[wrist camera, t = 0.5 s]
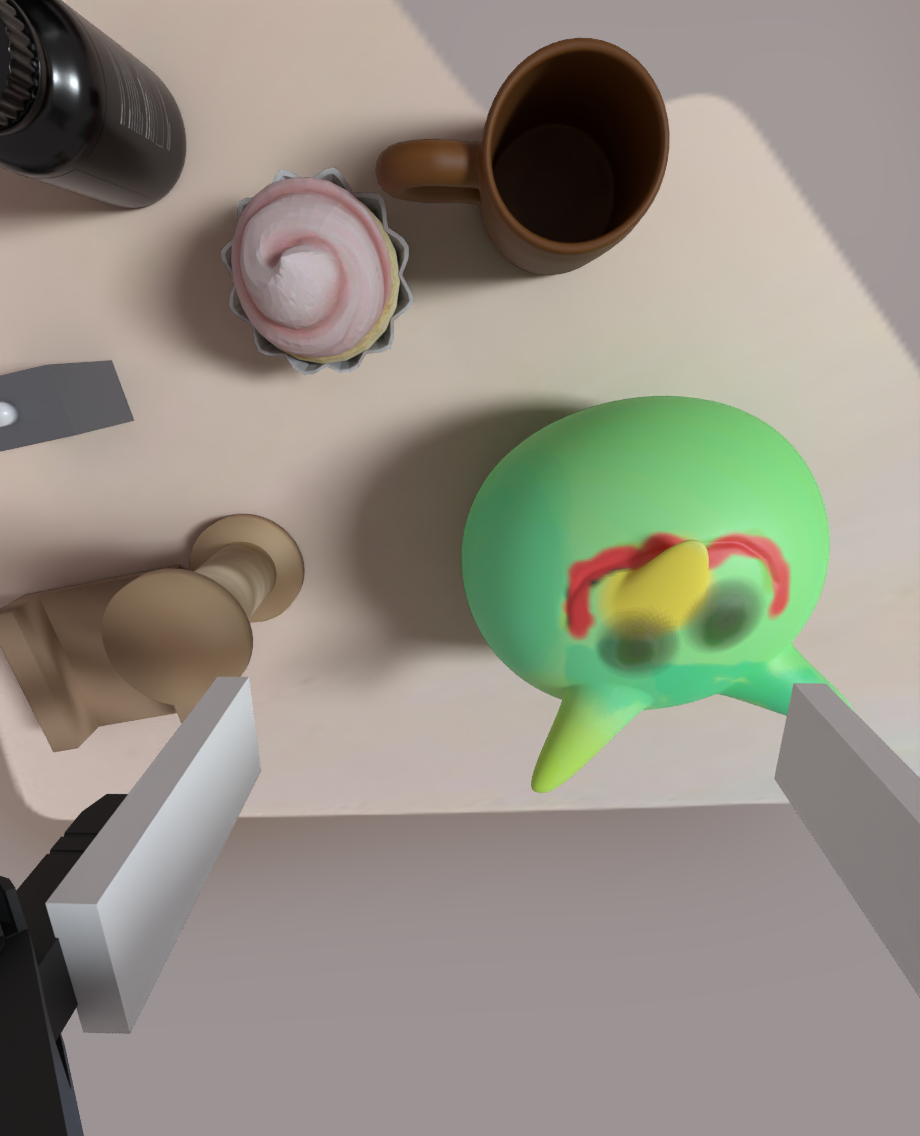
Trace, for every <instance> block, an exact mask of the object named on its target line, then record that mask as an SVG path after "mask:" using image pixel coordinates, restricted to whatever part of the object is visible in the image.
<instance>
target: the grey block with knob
mask: <svg viewBox="0 0 920 1136" xmlns="http://www.w3.org/2000/svg"><path fill="white" fill-rule="evenodd" d="M130 421H134V419H133V416H132V413H131V411H130V408H129V405H128V403H127V400H126V397H125V395H124V392H123V389H122V387H121V384H120V381H119V378H118V376H117V373H116V370H115V368H114V365H113V362H112V360H111V361H96V362H82V363H67V364H53V365H44V366H40V367H36V368H31V369H27V370H23V371H18V372H14V373H10V374H5V375H1V376H0V451H5V450H10V449H14V448H19V447H23V446H28V445H32V444H37V443H41V442H46V441H51V440H55V439H60V438H64V437H69V436H73V435H78V434H82V433H86V432H90V431H94V430H98V429H102V428H106V427H110V426H114V425H118V424H122V423H126V422H130Z"/></svg>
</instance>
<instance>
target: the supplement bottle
mask: <svg viewBox="0 0 920 1136" xmlns="http://www.w3.org/2000/svg"><path fill="white" fill-rule="evenodd" d="M185 156H186V134H185V128H184V123H183V119H182V116H181V113H180V111H179V108H178V106H177V104H176V102H175V100H174V98H173V96H172V94H171V93H170V91H169V90H168V88H167V87H166V85H165V84H164V83H163V82H162V81H161V79H160V78H159V77H158V76H157V75H156V74H155V73H154V72H153V71H152V70H150V69H149V68H148V67H147V66H146V65H144V64H143V63H142V62H141V61H139V60H138V59H137V58H136V57H134V56H133V55H132V54H131V53H129V52H128V51H127V50H125V49H124V48H123V47H121V46H120V45H119V44H117V43H116V42H115V41H114V40H112V39H111V38H110V37H108V36H107V35H106V34H104V33H103V32H102V31H101V30H99V29H98V28H97V27H95V26H94V25H93V24H91V23H90V22H89V21H88V20H86V19H85V18H84V17H82V16H81V15H80V14H78V13H77V12H76V11H74V10H73V9H72V8H71V7H69V6H68V5H67V4H65V3H64V2H63V1H61V0H0V167H2V168H5V169H7V170H9V171H12V172H14V173H16V174H19V175H22V176H25V177H28V178H31V179H34V180H37V181H40V182H43V183H46V184H50V185H53V186H56V187H59V188H62V189H65V190H68V191H71V192H74V193H77V194H80V195H83V196H86V197H89V198H92V199H95V200H98V201H101V202H105V203H108V204H112V205H115V206H120V207H126V208H138V207H144V206H148V205H150V204H153V203H155V202H157V201H159V200H160V199H162V198H163V197H165V196H166V195H167V194H168V193H169V192H170V191H171V189H172V188H173V187H174V186H175V184H176V183H177V181H178V179H179V177H180V175H181V172H182V169H183V166H184V162H185Z"/></svg>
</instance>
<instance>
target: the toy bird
mask: <svg viewBox="0 0 920 1136" xmlns="http://www.w3.org/2000/svg"><path fill="white" fill-rule="evenodd" d="M829 551H830V537H829V526H828V519H827V514H826V509H825V505H824V502H823V499H822V496H821V493H820V490H819V488H818V485H817V483H816V481H815V479H814V477H813V475H812V473H811V471H810V469H809V468H808V466H807V464H806V463H805V461H804V460H803V458H802V457H801V456H800V454H799V453H798V452H797V451H796V449H795V448H794V447H793V446H792V445H791V444H790V443H789V442H788V441H787V440H786V439H785V438H784V437H783V436H782V435H781V434H780V433H779V432H778V431H776V430H775V429H774V428H772V427H771V426H770V425H768V424H767V423H765V422H764V421H762V420H760V419H759V418H757V417H755V416H753V415H751V414H749V413H747V412H745V411H742V410H740V409H737V408H735V407H732V406H729V405H725V404H722V403H718V402H714V401H709V400H704V399H698V398H690V397H679V396H650V397H638V398H630V399H623V400H618V401H613V402H608V403H604V404H600V405H597V406H593V407H590V408H587V409H584V410H581V411H578V412H576V413H573V414H571V415H568V416H566V417H564V418H561V419H559V420H557V421H555V422H553V423H551V424H549V425H547V426H546V427H544V428H542V429H540V430H539V431H537V432H535V433H534V434H532V435H531V436H529V437H528V438H527V439H525V440H524V441H522V442H521V443H520V444H519V445H517V446H516V447H515V448H514V449H512V450H511V451H510V452H509V453H508V454H507V455H506V456H505V457H504V458H503V459H502V460H501V461H500V462H499V463H498V464H497V465H496V466H495V468H494V469H493V470H492V471H491V473H490V474H489V475H488V477H487V478H486V479H485V481H484V483H483V484H482V486H481V487H480V489H479V491H478V493H477V495H476V497H475V499H474V501H473V504H472V506H471V509H470V511H469V514H468V518H467V521H466V525H465V530H464V535H463V542H462V575H463V583H464V588H465V593H466V597H467V601H468V604H469V607H470V610H471V613H472V615H473V618H474V620H475V622H476V624H477V626H478V628H479V630H480V632H481V634H482V636H483V637H484V639H485V640H486V642H487V643H488V645H489V646H490V648H491V649H492V650H493V652H494V653H495V654H496V655H497V656H498V658H499V659H500V660H501V661H502V662H503V663H504V664H505V665H506V666H507V667H508V668H509V669H510V670H512V671H513V672H514V673H515V674H516V675H518V676H519V677H520V678H521V679H523V680H524V681H526V682H527V683H529V684H530V685H532V686H534V687H535V688H537V689H539V690H541V691H543V692H545V693H547V694H549V695H551V696H554V697H556V698H559V699H562V703H561V706H560V708H559V711H558V713H557V716H556V718H555V720H554V723H553V725H552V727H551V730H550V732H549V734H548V737H547V739H546V741H545V744H544V746H543V748H542V751H541V753H540V755H539V758H538V760H537V763H536V766H535V769H534V772H533V776H532V781H531V786H532V789H533V790H534V791H535V792H538V793H546V792H549V791H551V790H553V789H555V788H557V787H558V786H560V785H561V784H562V783H564V782H565V781H566V780H568V779H569V778H570V777H571V776H573V775H574V774H575V773H576V772H577V771H578V770H579V769H581V768H582V767H583V766H584V765H585V764H586V763H587V762H588V761H589V760H590V759H591V758H592V757H593V756H594V755H596V754H597V753H598V752H599V751H600V750H601V749H602V748H603V747H604V746H605V745H606V744H607V743H608V742H609V741H610V740H611V739H612V738H613V737H614V736H615V735H616V734H617V733H618V732H619V731H620V730H621V729H623V728H624V727H625V726H626V725H627V724H628V723H629V722H630V721H631V720H632V719H633V718H634V717H635V716H636V715H638V714H639V713H640V712H641V711H642V710H650V709H660V708H667V707H673V706H678V705H682V704H686V703H690V702H694V701H697V700H700V699H703V698H706V697H709V696H712V695H714V694H721V695H725V696H729V697H732V698H735V699H739V700H742V701H745V702H748V703H751V704H754V705H757V706H759V707H762V708H765V709H768V710H771V711H774V712H777V713H780V714H783V715H786V716H787V713H788V708H789V703H790V698H791V693H792V688H793V683H819V684H827V685H828V686H829V687H830V688H831V689H832V690H833V691H834V692H835V693H836V694H837V695H838V696H839V697H840V698H841V699H842V700H843V701H844V702H845V703H846V704H847V705H848V706H849V707H850V708H851V709H852V710H853V711H854V709H853V707H852V706H851V705H850V703H849V702H848V701H847V700H846V698H845V697H844V696H843V695H842V694H841V693H840V692H839V691H838V690H837V689H836V688H835V687H834V686H833V685H832V684H831V683H830V682H829V681H828V680H827V679H826V678H825V677H824V676H823V675H822V674H821V673H819V672H818V671H817V670H816V669H815V668H814V667H813V666H812V665H811V664H810V663H809V662H808V661H807V660H806V659H805V658H804V657H803V656H802V655H801V654H800V653H799V652H798V651H797V649H796V648H795V647H794V645H793V643H792V641H793V640H794V639H795V638H796V636H797V635H798V634H799V633H800V631H801V630H802V628H803V627H804V625H805V624H806V622H807V621H808V619H809V617H810V616H811V614H812V612H813V610H814V608H815V606H816V604H817V601H818V599H819V597H820V594H821V591H822V588H823V585H824V582H825V578H826V574H827V568H828V562H829ZM854 712H855V711H854Z"/></svg>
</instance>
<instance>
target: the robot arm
mask: <svg viewBox="0 0 920 1136" xmlns="http://www.w3.org/2000/svg"><path fill="white" fill-rule="evenodd" d="M260 772H261V766H260V759H259V751H258V743H257V736H256V728H255V721H254V713H253V706H252V698H251V690H250V683H249V677H217V678H216V680H215V681H214V682H213V683H212V685H211V686H210V687H209V689H208V690H207V691H206V693H205V694H204V695H203V697H202V698H201V699H200V701H199V702H198V703H197V704H196V706H195V707H194V708H193V710H192V711H191V712H190V714H189V715H188V716H187V718H186V719H185V720H184V722H183V723H182V724H181V726H180V727H179V728H178V729H177V731H176V732H175V733H174V735H173V736H172V737H171V739H170V740H169V741H168V743H167V744H166V745H165V747H164V748H163V749H162V750H161V752H160V753H159V754H158V756H157V757H156V758H155V760H154V761H153V762H152V764H151V765H150V766H149V768H148V769H147V770H146V772H145V773H144V774H143V775H142V777H141V778H140V779H139V781H138V782H137V783H136V785H135V786H134V787H133V789H132V790H131V791H130V793H129V794H106V795H105V796H103V797H102V798H101V799H99V800H98V801H96V802H95V803H94V804H92V805H91V806H89V807H88V808H86V809H85V810H84V811H82V812H81V813H80V815H79V816H78V817H77V818H76V819H75V821H74V822H73V823H72V824H71V825H70V827H69V828H68V829H67V830H66V832H65V834H64V837H61V838H60V839H59V840H58V841H57V842H56V844H55V845H54V846H53V847H52V849H51V850H50V854H46V856H45V857H44V858H43V859H42V860H41V862H40V863H39V864H38V865H37V867H36V868H35V869H34V870H33V871H32V873H31V874H30V875H29V876H28V877H27V879H26V880H25V881H24V882H23V883H22V885H21V886H20V887H19V888H18V889H17V891H16V889H15V887H14V885H13V884H12V882H11V881H10V879H8V878H5V877H2V876H0V1136H84V1135H83V1129H82V1125H81V1120H80V1115H79V1111H78V1106H77V1101H76V1097H75V1092H74V1087H73V1083H72V1077H71V1073H70V1069H69V1064H68V1059H67V1054H66V1049H65V1045H64V1041H63V1038H62V1035H61V1032H62V1030H63V1029H64V1027H65V1025H66V1024H67V1022H68V1020H69V1019H70V1017H71V1015H72V1014H73V1012H74V1010H75V1009H76V1008H77V1011H78V1015H79V1019H80V1022H81V1025H82V1029H83V1032H88V1033H90V1032H91V1033H127V1034H130V1033H131V1031H132V1029H133V1027H134V1025H135V1023H136V1021H137V1019H138V1017H139V1015H140V1013H141V1011H142V1009H143V1007H144V1005H145V1003H146V1001H147V999H148V997H149V995H150V993H151V991H152V989H153V987H154V985H155V983H156V981H157V979H158V977H159V975H160V973H161V971H162V969H163V967H164V965H165V963H166V961H167V958H168V957H169V955H170V953H171V951H172V949H173V947H174V944H175V943H176V941H177V938H178V937H179V934H180V933H181V930H182V929H183V927H184V924H185V923H186V920H187V919H188V916H189V914H190V913H191V910H192V908H193V906H194V904H195V902H196V900H197V898H198V896H199V894H200V892H201V890H202V888H203V886H204V884H205V882H206V880H207V878H208V876H209V874H210V872H211V870H212V868H213V866H214V864H215V862H216V860H217V858H218V856H219V854H220V852H221V850H222V848H223V846H224V844H225V842H226V840H227V838H228V836H229V834H230V832H231V830H232V828H233V826H234V824H235V822H236V820H237V818H238V816H239V814H240V812H241V810H242V808H243V806H244V804H245V802H246V800H247V798H248V796H249V794H250V792H251V790H252V788H253V786H254V784H255V782H256V780H257V778H258V776H259V774H260ZM774 779H775V780H776V782H777V783H778V785H779V786H780V788H781V789H782V791H783V792H784V794H785V795H786V797H787V798H788V800H789V801H790V803H791V804H792V806H793V807H794V809H795V810H796V812H797V814H798V815H799V817H800V818H801V820H802V821H803V823H804V824H805V826H806V827H807V829H808V830H809V831H810V833H811V834H812V836H813V838H814V839H815V841H816V842H817V844H818V845H819V846H820V848H821V850H822V851H823V853H824V854H825V856H826V857H827V859H828V860H829V862H830V863H831V865H832V866H833V868H834V869H835V871H836V872H837V874H838V875H839V877H840V878H841V879H842V881H843V883H844V884H845V886H846V887H847V889H848V890H849V892H850V893H851V895H852V896H853V898H854V899H855V901H856V902H857V904H858V905H859V907H860V908H861V910H862V911H863V913H864V914H865V916H866V917H867V919H868V920H869V922H870V923H871V925H872V926H873V928H874V929H875V931H876V933H877V934H878V936H879V937H880V939H881V940H882V942H883V943H884V945H885V946H886V948H887V949H888V950H889V952H890V954H891V955H892V957H893V958H894V960H895V961H896V963H897V964H898V966H899V967H900V969H901V970H902V971H903V973H904V975H905V976H906V978H907V979H908V980H909V982H910V984H911V985H912V987H913V988H914V990H915V991H916V993H917V994H918V996H919V997H920V778H919V777H918V776H917V775H916V774H915V773H914V772H913V771H912V770H911V769H910V768H909V767H908V766H907V765H906V764H905V763H904V762H903V761H902V760H901V759H900V758H899V757H898V756H897V755H896V754H895V753H894V752H893V751H892V750H891V749H890V748H889V747H888V746H887V745H886V744H885V743H884V742H883V741H882V739H881V738H880V737H879V736H878V735H877V734H876V733H875V732H874V731H873V730H872V729H871V728H870V727H869V726H868V725H867V724H866V723H865V722H864V721H863V720H862V719H861V718H860V717H859V716H858V715H857V714H856V713H855V712H854V711H853V710H852V709H851V708H850V707H849V706H848V705H847V704H846V703H845V702H844V701H843V700H842V699H841V698H840V697H839V696H838V695H837V694H836V693H835V692H834V691H833V690H832V689H831V688H830V687H829V686H828V685H827V684H819V683H793V688H792V693H791V698H790V703H789V708H788V713H787V718H786V723H785V728H784V733H783V738H782V743H781V748H780V753H779V758H778V763H777V768H776V773H775V778H774Z"/></svg>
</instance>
